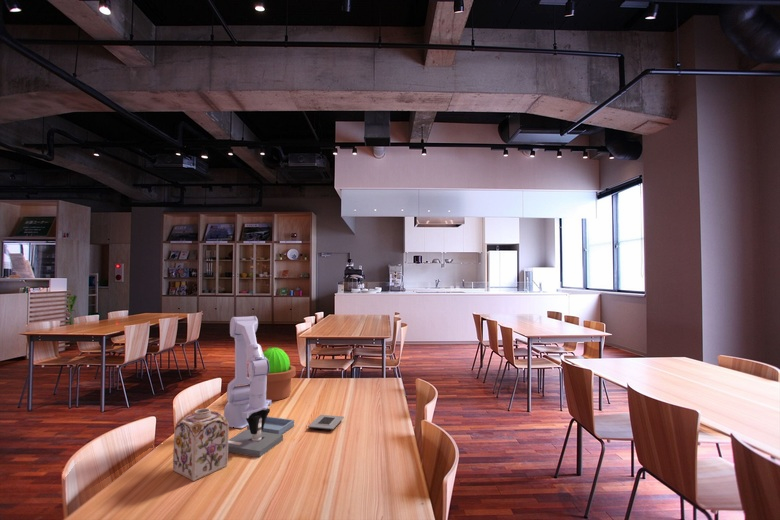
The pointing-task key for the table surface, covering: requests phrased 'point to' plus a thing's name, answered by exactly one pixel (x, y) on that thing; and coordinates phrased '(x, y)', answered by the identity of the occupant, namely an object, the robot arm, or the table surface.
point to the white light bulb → (257, 436)
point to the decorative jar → (200, 444)
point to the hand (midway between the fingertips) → (256, 431)
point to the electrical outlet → (325, 422)
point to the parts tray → (276, 425)
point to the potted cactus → (278, 374)
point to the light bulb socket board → (253, 443)
